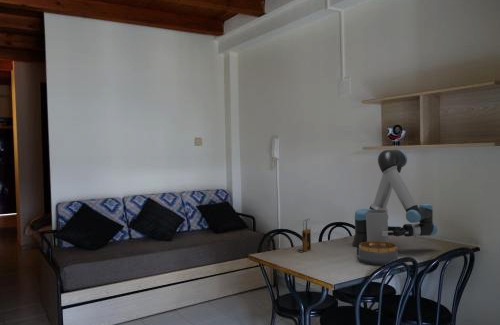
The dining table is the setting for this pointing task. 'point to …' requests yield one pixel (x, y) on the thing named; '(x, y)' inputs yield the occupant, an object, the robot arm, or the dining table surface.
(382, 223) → the cylinder vase
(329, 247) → the dining table surface
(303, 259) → the dining table surface
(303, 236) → the multimeter
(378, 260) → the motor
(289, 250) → the dining table surface
